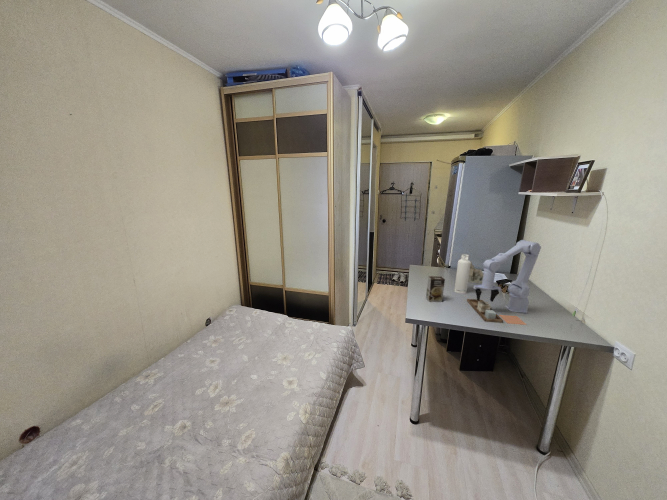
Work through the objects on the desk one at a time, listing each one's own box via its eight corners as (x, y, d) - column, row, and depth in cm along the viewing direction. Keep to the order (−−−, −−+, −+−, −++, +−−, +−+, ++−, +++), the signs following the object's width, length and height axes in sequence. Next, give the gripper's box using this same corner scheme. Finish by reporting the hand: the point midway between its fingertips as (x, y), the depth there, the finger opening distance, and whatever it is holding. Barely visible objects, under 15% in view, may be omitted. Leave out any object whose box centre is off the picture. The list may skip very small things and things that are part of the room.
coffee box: (428, 301, 166) (431, 279, 162) (425, 297, 173) (427, 275, 169) (442, 302, 166) (445, 279, 162) (438, 298, 172) (441, 276, 168)
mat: (516, 316, 147) (516, 316, 147) (526, 325, 138) (527, 324, 137) (498, 315, 148) (498, 314, 148) (507, 324, 139) (507, 323, 139)
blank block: (491, 316, 146) (492, 310, 145) (495, 319, 142) (496, 313, 142) (484, 315, 147) (485, 309, 146) (487, 319, 143) (488, 313, 142)
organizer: (481, 302, 166) (482, 299, 165) (502, 323, 140) (503, 320, 139) (466, 301, 167) (466, 298, 167) (484, 322, 141) (485, 319, 140)
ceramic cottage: (458, 279, 208) (462, 262, 204) (467, 276, 218) (471, 260, 214) (478, 286, 196) (482, 268, 192) (486, 282, 206) (491, 265, 202)
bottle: (463, 289, 187) (468, 253, 180) (468, 294, 179) (473, 256, 173) (452, 289, 188) (457, 253, 181) (456, 293, 180) (461, 256, 173)
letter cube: (485, 309, 155) (486, 301, 154) (489, 313, 150) (490, 305, 149) (477, 308, 156) (478, 301, 155) (480, 312, 151) (481, 304, 150)
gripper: (498, 278, 151) (494, 298, 154) (472, 276, 153) (469, 297, 156) (504, 282, 144) (500, 303, 148) (477, 280, 146) (474, 301, 150)
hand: (484, 300), depth 152 cm, fingers open, 7 cm apart
